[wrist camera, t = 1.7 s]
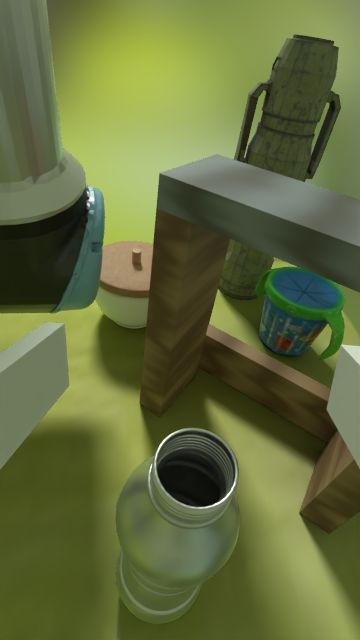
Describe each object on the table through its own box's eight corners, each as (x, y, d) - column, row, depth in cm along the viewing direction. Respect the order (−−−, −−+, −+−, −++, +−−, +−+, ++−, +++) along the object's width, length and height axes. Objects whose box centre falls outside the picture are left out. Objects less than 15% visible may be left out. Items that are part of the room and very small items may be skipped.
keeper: (353, 442, 39) (544, 242, 22) (329, 533, 31) (598, 334, 14) (190, 349, 47) (235, 148, 29) (139, 403, 39) (159, 173, 22)
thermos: (202, 270, 63) (253, 28, 40) (260, 272, 65) (339, 44, 42) (212, 299, 56) (279, 29, 33) (276, 300, 59) (380, 48, 36)
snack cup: (229, 311, 54) (245, 258, 48) (282, 304, 58) (304, 254, 51) (280, 386, 44) (309, 331, 37) (341, 372, 47) (378, 319, 41)
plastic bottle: (204, 620, 25) (301, 543, 12) (115, 637, 24) (115, 570, 11) (190, 526, 30) (249, 397, 17) (115, 535, 29) (115, 404, 16)
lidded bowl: (75, 306, 51) (69, 241, 43) (140, 280, 58) (144, 221, 51) (124, 355, 44) (126, 289, 37) (190, 320, 52) (202, 259, 44)
